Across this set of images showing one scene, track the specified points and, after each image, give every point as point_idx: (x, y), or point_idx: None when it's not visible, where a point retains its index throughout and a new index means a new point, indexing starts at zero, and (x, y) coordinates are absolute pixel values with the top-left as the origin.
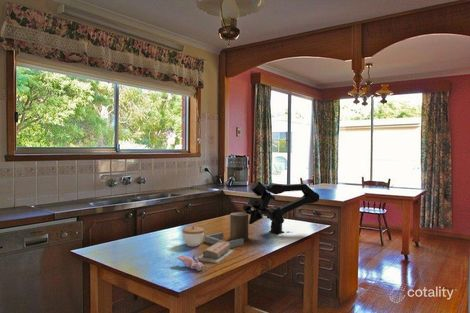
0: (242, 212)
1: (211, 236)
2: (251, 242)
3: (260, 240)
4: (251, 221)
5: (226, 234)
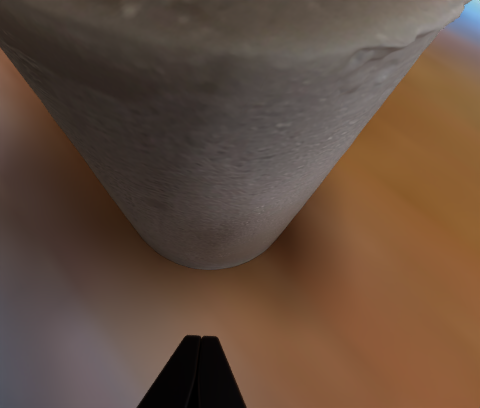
0: (375, 41)
1: None
2: (68, 199)
3: (24, 320)
4: (158, 377)
5: (415, 233)
